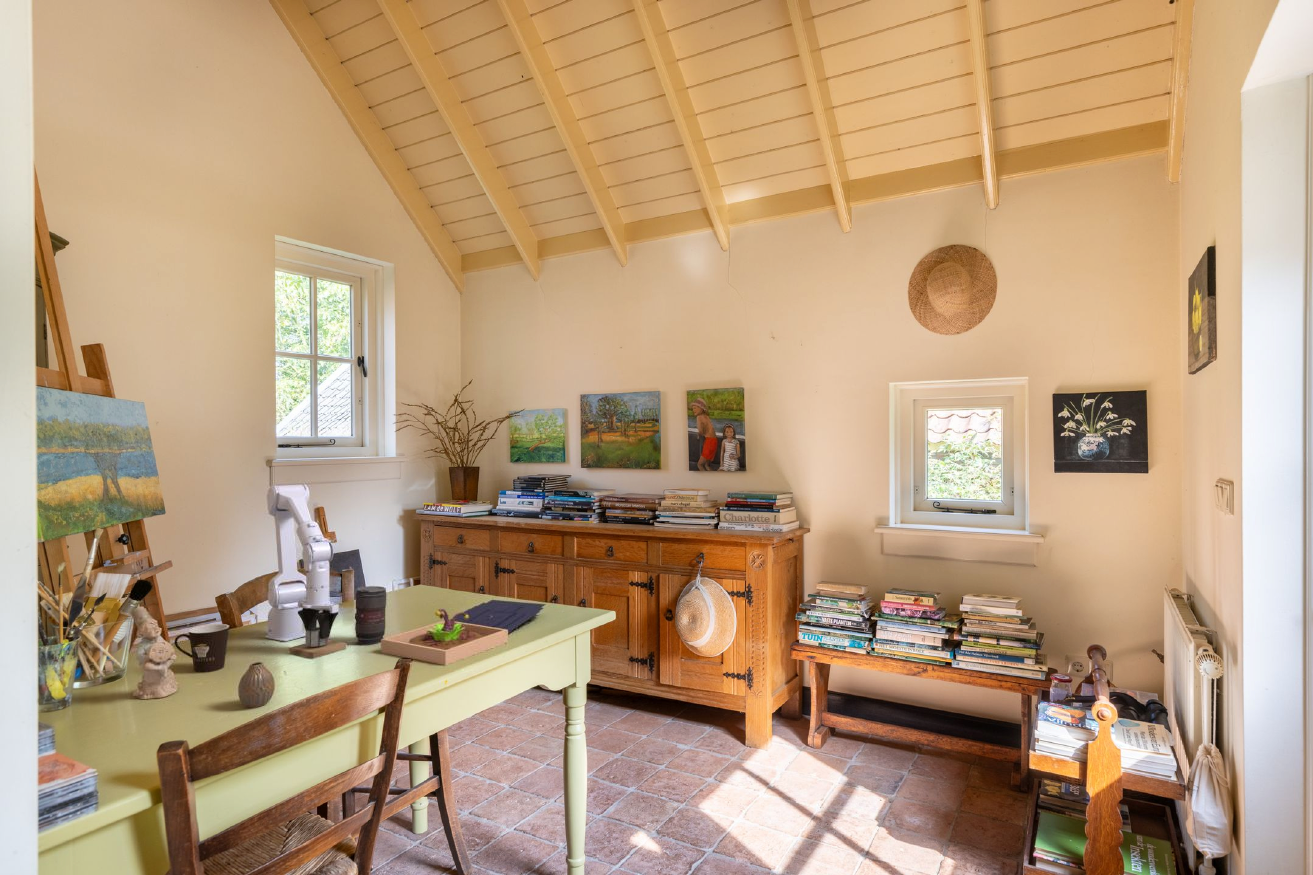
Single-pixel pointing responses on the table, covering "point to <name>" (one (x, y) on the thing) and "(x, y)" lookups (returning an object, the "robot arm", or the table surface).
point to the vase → (256, 686)
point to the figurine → (153, 658)
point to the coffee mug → (207, 647)
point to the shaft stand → (317, 649)
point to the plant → (445, 634)
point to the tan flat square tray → (403, 648)
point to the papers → (500, 614)
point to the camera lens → (370, 614)
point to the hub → (314, 637)
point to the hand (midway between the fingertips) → (318, 636)
